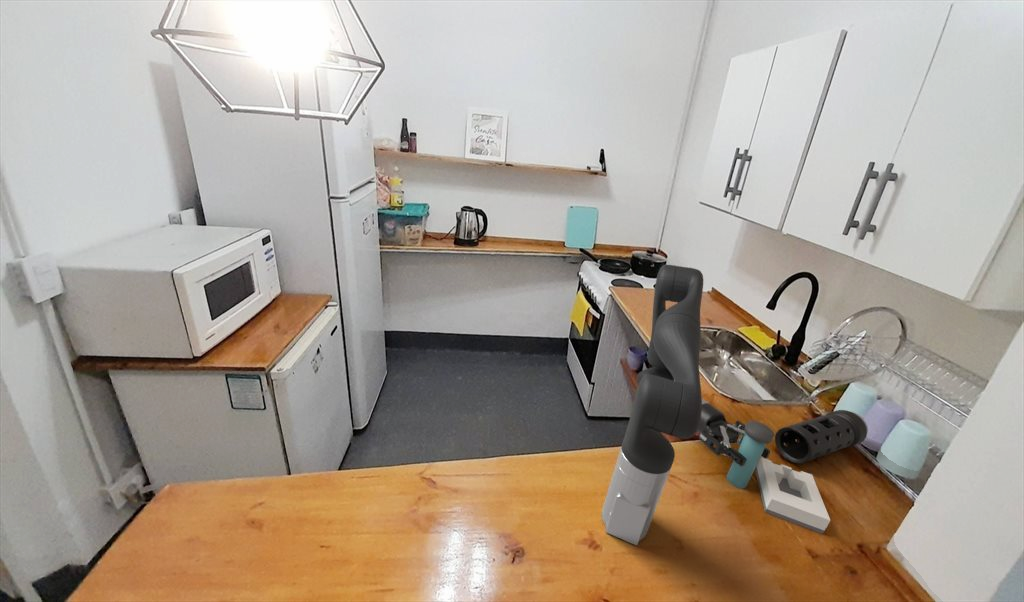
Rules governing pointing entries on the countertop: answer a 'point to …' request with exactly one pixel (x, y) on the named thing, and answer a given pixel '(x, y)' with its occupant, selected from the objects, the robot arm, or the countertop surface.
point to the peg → (750, 452)
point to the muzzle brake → (820, 436)
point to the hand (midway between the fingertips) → (756, 459)
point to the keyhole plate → (791, 495)
